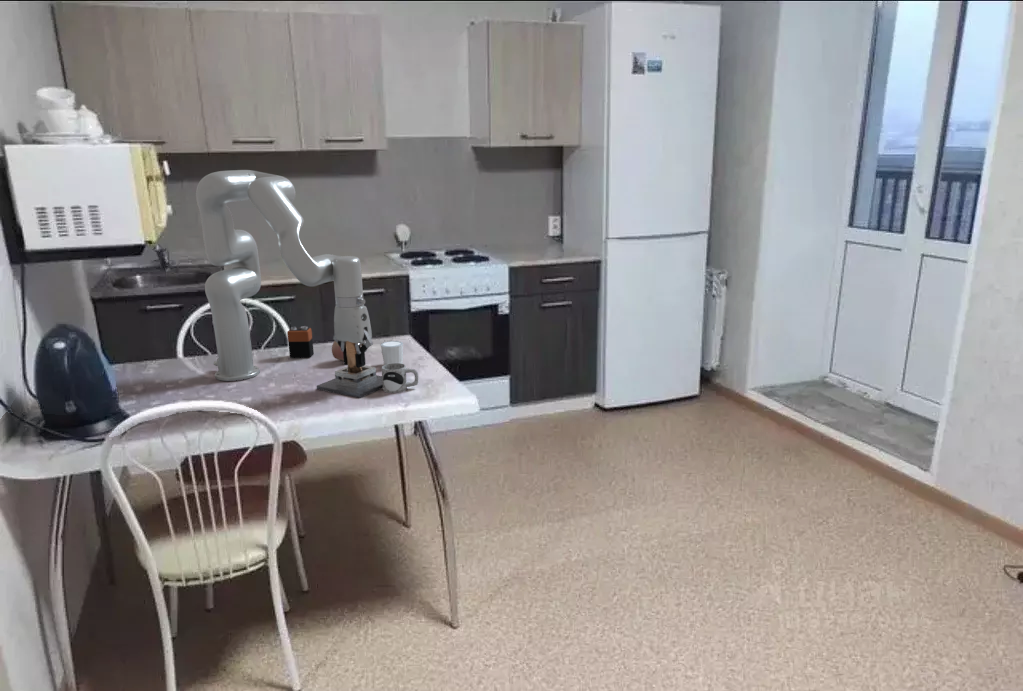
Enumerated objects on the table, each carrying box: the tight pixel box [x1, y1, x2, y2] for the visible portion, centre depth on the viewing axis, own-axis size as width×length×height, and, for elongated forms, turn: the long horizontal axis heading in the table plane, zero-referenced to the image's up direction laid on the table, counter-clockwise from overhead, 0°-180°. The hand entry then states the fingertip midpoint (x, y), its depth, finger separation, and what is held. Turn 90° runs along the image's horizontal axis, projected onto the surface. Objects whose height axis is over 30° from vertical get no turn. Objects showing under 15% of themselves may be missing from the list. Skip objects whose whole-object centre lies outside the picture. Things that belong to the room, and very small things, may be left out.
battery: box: [287, 325, 315, 359], centre depth 229 cm, size 4×7×10 cm, turn 89°
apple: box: [331, 340, 344, 362], centre depth 223 cm, size 8×8×8 cm
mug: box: [381, 363, 419, 394], centre depth 197 cm, size 10×7×7 cm, turn 91°
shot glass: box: [380, 340, 404, 365], centre depth 219 cm, size 7×7×7 cm
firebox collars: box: [316, 365, 383, 399], centre depth 201 cm, size 16×15×5 cm
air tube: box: [346, 341, 362, 374], centre depth 199 cm, size 4×4×11 cm
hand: (354, 364), depth 200 cm, fingers closed on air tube, 3 cm apart
